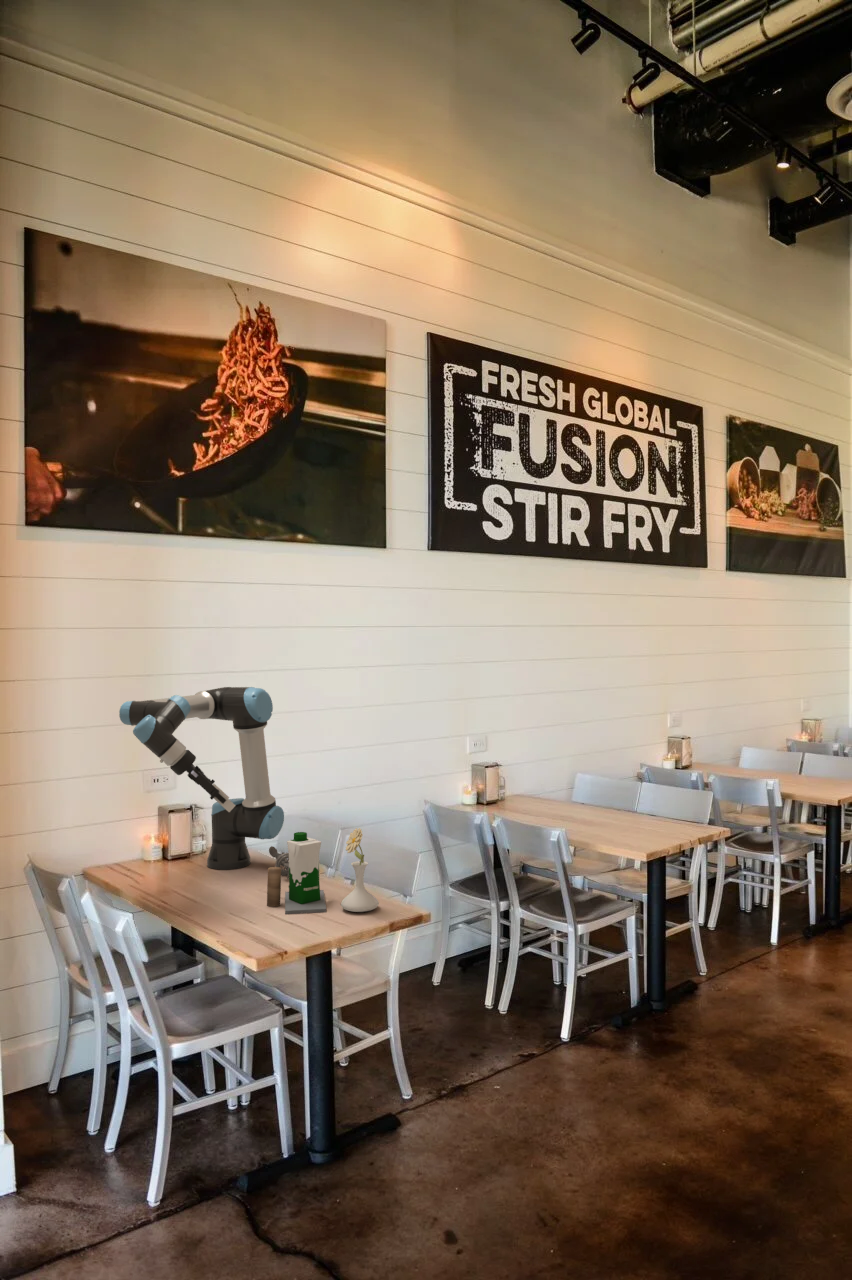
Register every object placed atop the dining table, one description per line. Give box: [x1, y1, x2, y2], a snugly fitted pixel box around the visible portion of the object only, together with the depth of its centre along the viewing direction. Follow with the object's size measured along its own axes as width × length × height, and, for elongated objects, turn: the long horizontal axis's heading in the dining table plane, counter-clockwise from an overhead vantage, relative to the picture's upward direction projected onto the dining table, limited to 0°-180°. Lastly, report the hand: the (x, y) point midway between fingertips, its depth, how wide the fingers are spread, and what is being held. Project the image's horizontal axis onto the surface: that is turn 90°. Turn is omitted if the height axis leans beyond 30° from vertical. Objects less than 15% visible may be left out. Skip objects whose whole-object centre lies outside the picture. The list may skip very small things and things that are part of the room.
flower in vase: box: [340, 827, 380, 913], centre depth 268 cm, size 13×11×25 cm
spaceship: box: [268, 845, 289, 881], centre depth 307 cm, size 8×35×8 cm
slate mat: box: [284, 889, 327, 915], centre depth 275 cm, size 20×12×1 cm, turn 9°
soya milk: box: [286, 831, 322, 904], centre depth 275 cm, size 9×9×20 cm
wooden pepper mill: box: [266, 866, 282, 908], centre depth 274 cm, size 4×4×11 cm
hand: (229, 804), depth 275 cm, fingers open, 13 cm apart
